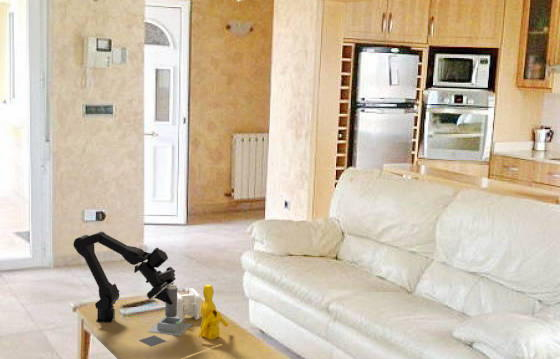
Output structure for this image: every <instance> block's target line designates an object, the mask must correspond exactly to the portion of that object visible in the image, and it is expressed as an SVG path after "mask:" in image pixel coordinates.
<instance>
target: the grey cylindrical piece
mask: <svg viewBox="0 0 560 359" xmlns="http://www.w3.org/2000/svg"><path fill="white" fill-rule="evenodd" d="M177 292H178V286H177V284H173V285H167V288H166V293H167V295H168V296H169V298H170V299H171V301H172V303H173V304H172V305H170V304H168V303H165V309H164V310H165V311H164V315H165V316H166V317H175V316H177ZM165 316H164V317H165Z"/></svg>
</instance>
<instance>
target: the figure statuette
mask: <svg viewBox="0 0 560 359" xmlns="http://www.w3.org/2000/svg"><path fill="white" fill-rule="evenodd" d="M214 291H215V290H214V287H213V285H211V284H206V285H204V286H203V298H204V302H203V304H202V306H201V308H200V314H201V323H200V329H199V330H200V331H199V333H198V337H199V338H201V337H202V338H206V339H208V340H216V339H217V338H219V337H220V326H219V324H220V323H221V324H222V325H223V326H224V327H225V328H226V327H229V324H228V322H227V321H226V320H225V319H224V317H223V316H222V315H221V312H219V311H217V307H216V305H215V302H214V301H213V297H214Z"/></svg>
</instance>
